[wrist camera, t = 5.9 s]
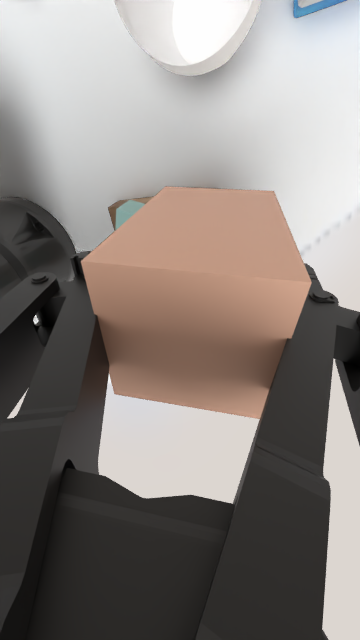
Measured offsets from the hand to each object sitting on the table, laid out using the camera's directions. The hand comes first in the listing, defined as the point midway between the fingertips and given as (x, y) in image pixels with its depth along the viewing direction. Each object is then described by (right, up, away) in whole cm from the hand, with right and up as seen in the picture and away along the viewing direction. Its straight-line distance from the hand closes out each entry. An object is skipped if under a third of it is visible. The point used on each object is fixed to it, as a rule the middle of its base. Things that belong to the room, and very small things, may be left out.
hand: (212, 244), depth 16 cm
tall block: (0, 0, 0) cm, 0 cm away
